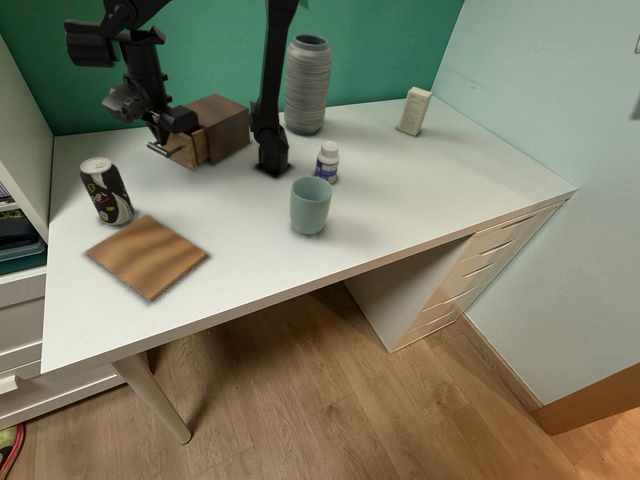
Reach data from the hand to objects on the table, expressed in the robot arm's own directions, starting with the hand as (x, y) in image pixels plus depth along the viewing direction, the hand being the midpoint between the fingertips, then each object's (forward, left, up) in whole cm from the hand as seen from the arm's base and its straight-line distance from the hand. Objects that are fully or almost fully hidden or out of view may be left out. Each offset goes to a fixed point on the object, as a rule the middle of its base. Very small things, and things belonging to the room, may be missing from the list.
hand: (163, 145), depth 70 cm
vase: (-11, -39, -6) cm, 41 cm away
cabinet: (0, -15, -6) cm, 16 cm away
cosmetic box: (-36, -61, -6) cm, 71 cm away
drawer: (0, -6, -5) cm, 8 cm away
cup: (-35, -5, -6) cm, 36 cm away
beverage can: (-5, +16, -6) cm, 18 cm away
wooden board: (-17, +19, -6) cm, 27 cm away
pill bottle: (-29, -22, -6) cm, 37 cm away
